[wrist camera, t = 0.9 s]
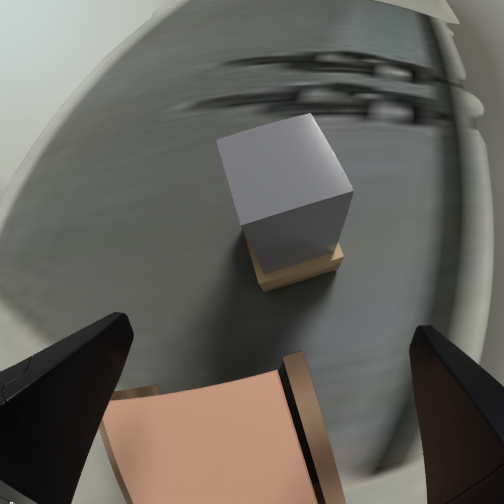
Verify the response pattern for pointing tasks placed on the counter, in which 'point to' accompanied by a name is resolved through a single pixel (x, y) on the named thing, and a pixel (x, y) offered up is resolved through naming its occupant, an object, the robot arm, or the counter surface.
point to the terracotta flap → (211, 445)
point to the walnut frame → (310, 414)
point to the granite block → (286, 191)
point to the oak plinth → (296, 270)
